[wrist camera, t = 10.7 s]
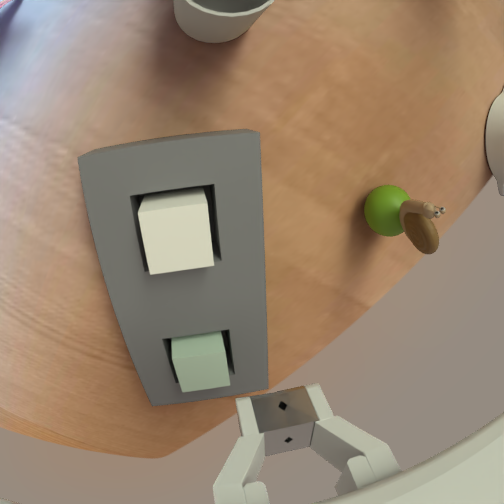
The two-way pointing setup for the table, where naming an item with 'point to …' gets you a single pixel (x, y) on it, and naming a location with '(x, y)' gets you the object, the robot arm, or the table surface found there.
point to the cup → (217, 18)
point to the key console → (192, 280)
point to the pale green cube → (200, 361)
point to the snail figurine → (402, 217)
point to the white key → (176, 230)
